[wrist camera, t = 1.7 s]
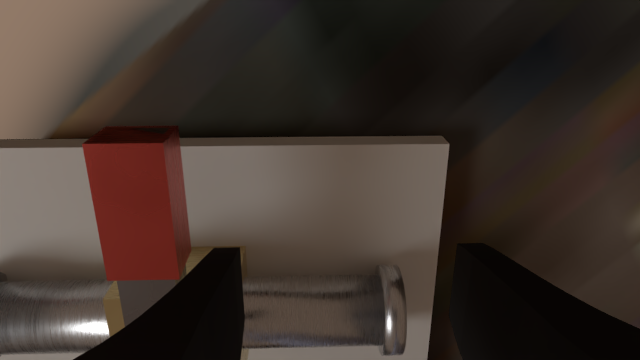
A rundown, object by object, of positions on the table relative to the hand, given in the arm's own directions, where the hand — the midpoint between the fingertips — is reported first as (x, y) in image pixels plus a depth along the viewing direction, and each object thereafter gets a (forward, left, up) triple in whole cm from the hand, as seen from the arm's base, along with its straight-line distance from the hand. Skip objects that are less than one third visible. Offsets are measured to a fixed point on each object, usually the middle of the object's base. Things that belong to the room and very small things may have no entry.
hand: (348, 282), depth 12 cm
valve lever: (+6, +3, -5) cm, 8 cm away
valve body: (+6, +6, -10) cm, 14 cm away
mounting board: (+6, +6, -10) cm, 14 cm away
